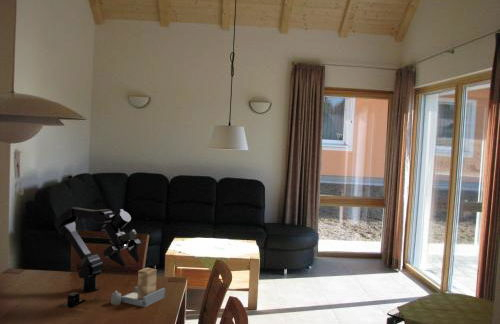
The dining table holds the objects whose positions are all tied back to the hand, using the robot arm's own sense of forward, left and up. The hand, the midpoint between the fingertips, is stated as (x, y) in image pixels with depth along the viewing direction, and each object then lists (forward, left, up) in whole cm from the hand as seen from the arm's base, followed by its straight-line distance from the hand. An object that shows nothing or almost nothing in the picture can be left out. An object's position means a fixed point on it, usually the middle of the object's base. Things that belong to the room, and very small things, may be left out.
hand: (131, 264), depth 198 cm
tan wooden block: (+8, +4, -14) cm, 17 cm away
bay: (+5, 0, -15) cm, 16 cm away
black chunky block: (-8, -22, -16) cm, 28 cm away
